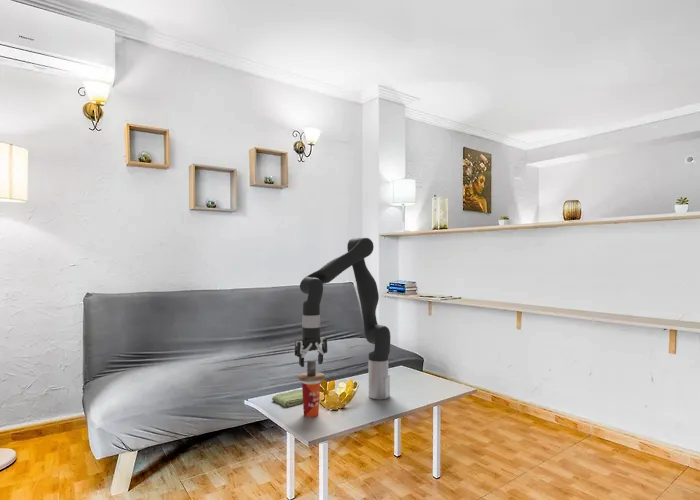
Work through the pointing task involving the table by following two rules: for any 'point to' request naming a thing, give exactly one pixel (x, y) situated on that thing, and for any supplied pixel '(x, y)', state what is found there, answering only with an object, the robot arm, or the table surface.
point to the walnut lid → (311, 373)
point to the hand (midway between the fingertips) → (311, 365)
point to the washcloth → (289, 398)
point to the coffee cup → (311, 398)
